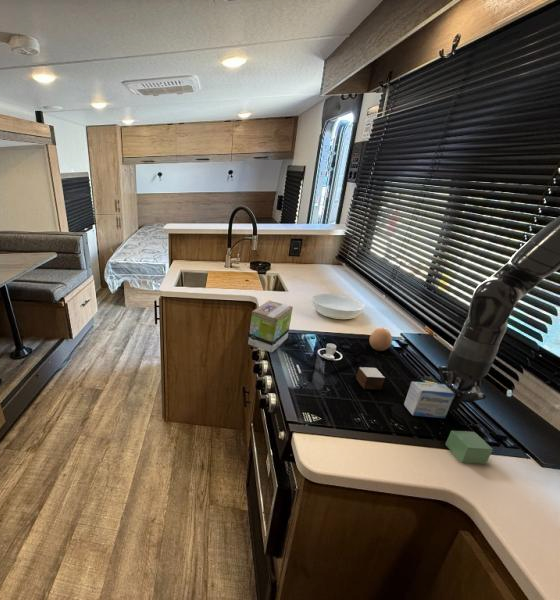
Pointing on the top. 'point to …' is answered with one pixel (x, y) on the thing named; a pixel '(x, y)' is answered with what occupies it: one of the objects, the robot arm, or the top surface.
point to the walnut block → (370, 378)
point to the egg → (380, 339)
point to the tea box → (270, 325)
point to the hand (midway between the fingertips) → (449, 407)
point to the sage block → (468, 447)
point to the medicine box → (428, 399)
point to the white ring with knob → (329, 352)
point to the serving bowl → (337, 306)
